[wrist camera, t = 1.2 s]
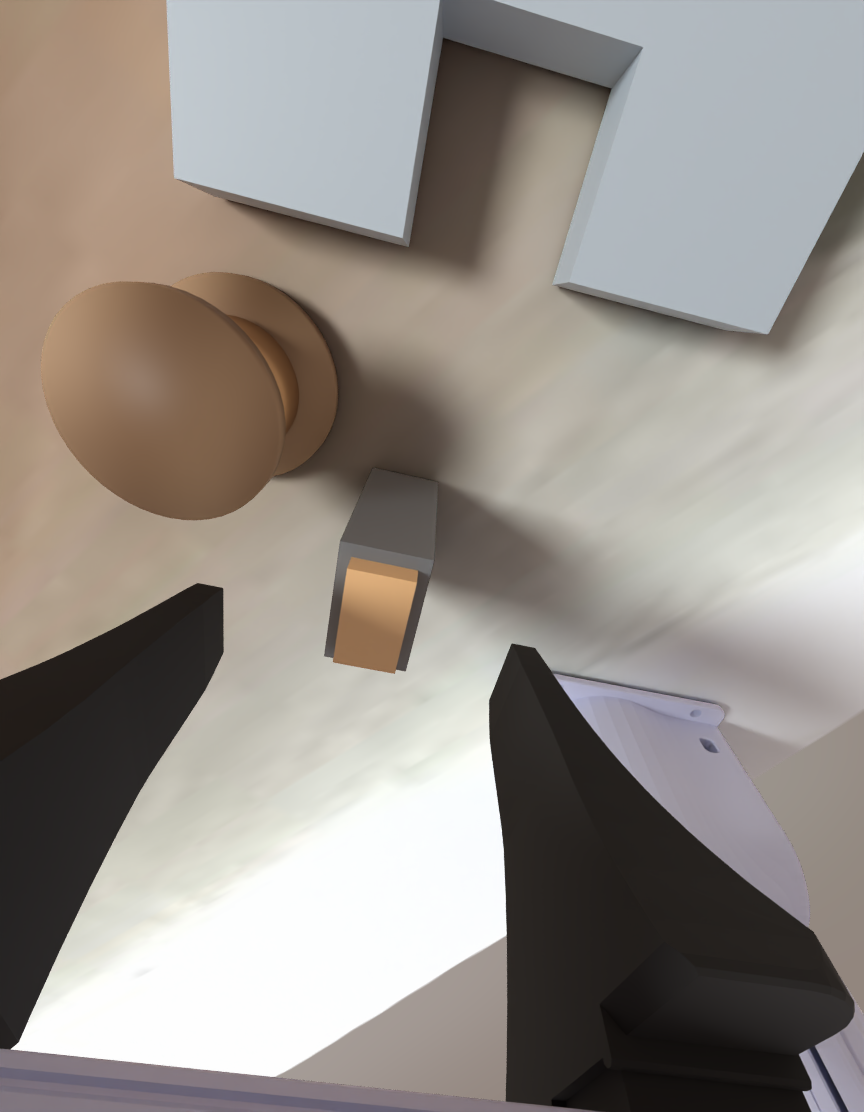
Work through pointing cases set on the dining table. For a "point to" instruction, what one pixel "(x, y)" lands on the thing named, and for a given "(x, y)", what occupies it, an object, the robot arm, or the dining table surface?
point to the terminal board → (620, 149)
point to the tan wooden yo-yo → (188, 389)
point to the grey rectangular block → (383, 572)
